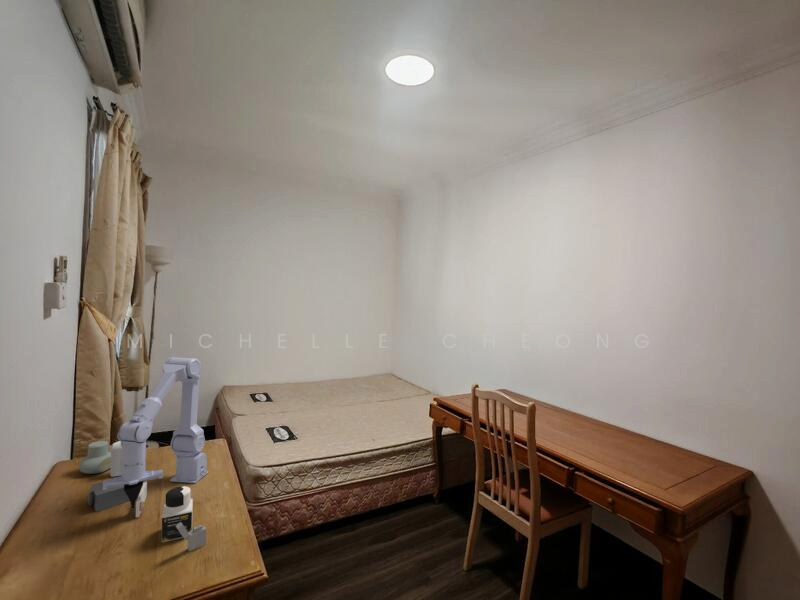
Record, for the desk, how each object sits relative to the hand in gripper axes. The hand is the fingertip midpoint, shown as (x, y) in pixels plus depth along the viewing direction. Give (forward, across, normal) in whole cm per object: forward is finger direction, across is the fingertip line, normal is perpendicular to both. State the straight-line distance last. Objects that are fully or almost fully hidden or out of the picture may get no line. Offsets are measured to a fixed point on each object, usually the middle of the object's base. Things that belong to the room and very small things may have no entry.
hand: (133, 506), depth 113 cm
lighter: (+3, +13, -25) cm, 29 cm away
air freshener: (+3, -12, +40) cm, 41 cm away
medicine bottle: (+3, +11, -16) cm, 19 cm away
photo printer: (+3, -2, +32) cm, 32 cm away
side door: (+2, +2, +4) cm, 5 cm away
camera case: (+2, -5, +13) cm, 14 cm away
